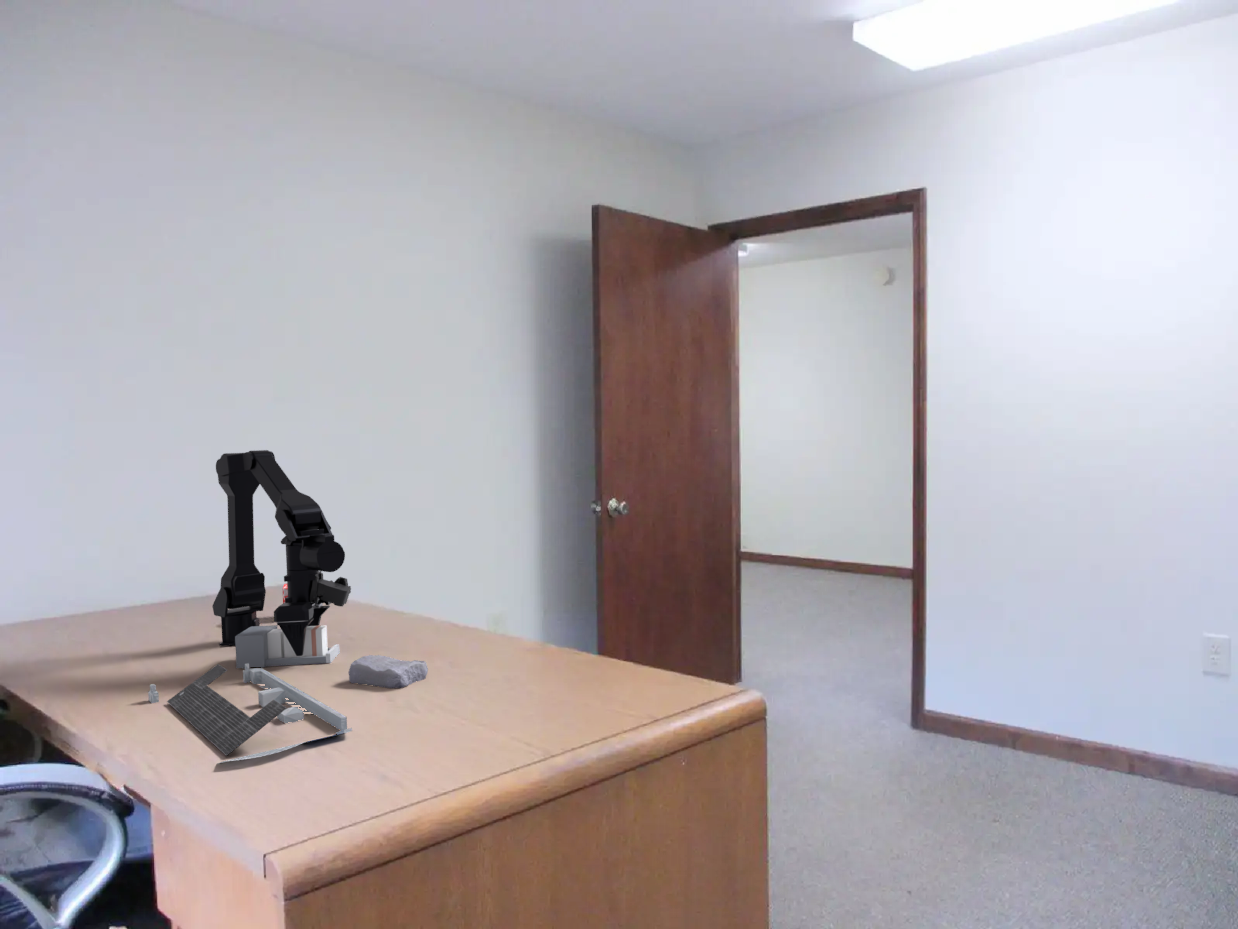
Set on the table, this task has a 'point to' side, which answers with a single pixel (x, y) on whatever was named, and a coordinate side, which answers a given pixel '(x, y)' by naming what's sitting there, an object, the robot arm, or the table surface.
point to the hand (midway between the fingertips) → (306, 650)
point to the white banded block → (310, 642)
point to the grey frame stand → (271, 649)
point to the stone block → (386, 671)
